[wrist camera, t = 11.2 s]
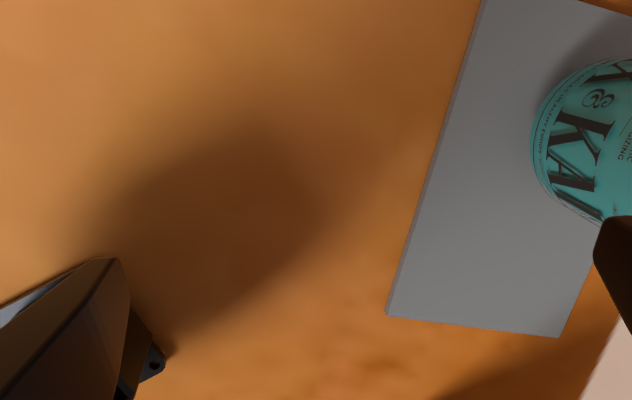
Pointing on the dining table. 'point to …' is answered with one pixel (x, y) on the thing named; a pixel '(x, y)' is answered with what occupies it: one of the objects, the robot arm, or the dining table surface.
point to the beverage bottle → (587, 140)
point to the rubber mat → (504, 178)
